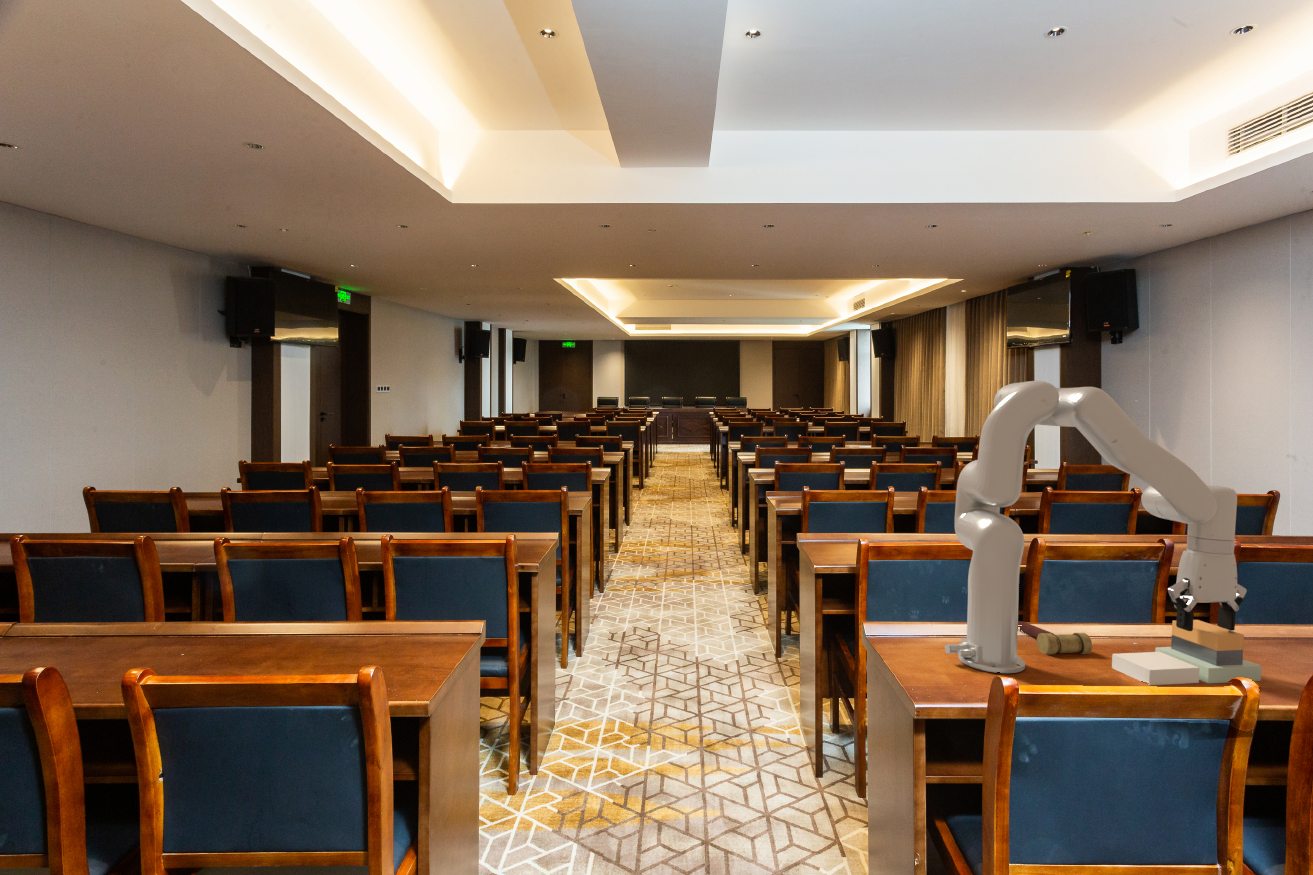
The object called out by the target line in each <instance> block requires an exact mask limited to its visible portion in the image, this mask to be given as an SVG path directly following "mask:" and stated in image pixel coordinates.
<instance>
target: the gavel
mask: <svg viewBox="0 0 1313 875" xmlns="http://www.w3.org/2000/svg"><path fill="white" fill-rule="evenodd" d="M1018 625H1022V626H1018V627H1020V630H1022V631H1023V632H1024V634H1025V633H1026V634H1025V635H1027V636H1029V637H1033V638H1034V639H1036V645H1037V646H1036V647H1037V649H1038V651H1039V652H1040V653H1042V654H1044V655H1046V656H1047V655H1049V656H1050V655H1052V656H1053V655H1057V654H1075V653H1077V654H1079V655H1089V654H1091V653H1092V650H1093V642H1092V639H1091V638H1090V636H1089V635H1088V634H1087V633H1086V632H1074V633H1071V634H1060V633H1059V634H1056V633H1055V634H1054V633H1053V632H1051V631H1048V630H1046V629H1043V628H1042V627H1038V626H1036V625H1033V624H1031V623H1028V622H1025V621H1018ZM1023 632H1022V633H1023Z"/></svg>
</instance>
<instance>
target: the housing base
mask: <svg viewBox="0 0 1313 875" xmlns="http://www.w3.org/2000/svg"><path fill="white" fill-rule="evenodd" d="M1170 644H1171V646H1170V647H1171V649H1174V650H1176V651H1179V652H1181V653H1184V654H1187V655H1189V656H1192V657H1194V658H1197V659H1200V660H1202V661H1205V662H1207V663H1210V664H1213V665H1215V666H1224V665H1242V664H1243V659H1244V656H1243V655H1244V649H1243V650H1226V651H1216V650H1213V649H1210V648H1208V647H1205V646H1202V645H1199V644H1197V643H1194V642H1191V641H1188V640H1186V639H1183V638H1180V637H1177V636H1174V635H1172V634H1171V641H1170Z"/></svg>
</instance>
